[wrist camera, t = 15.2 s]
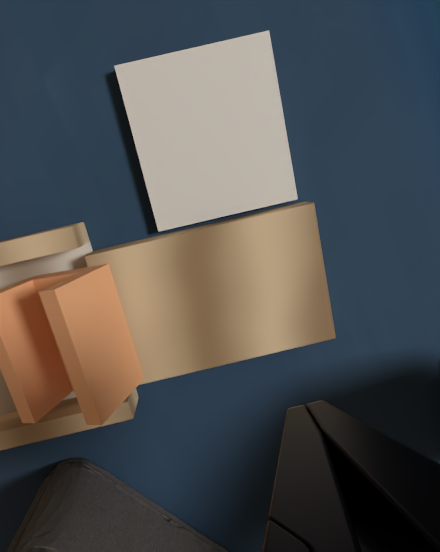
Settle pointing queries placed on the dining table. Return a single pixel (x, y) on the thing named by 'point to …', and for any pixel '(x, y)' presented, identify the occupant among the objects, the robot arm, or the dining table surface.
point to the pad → (209, 130)
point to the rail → (187, 299)
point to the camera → (100, 517)
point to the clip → (67, 344)
